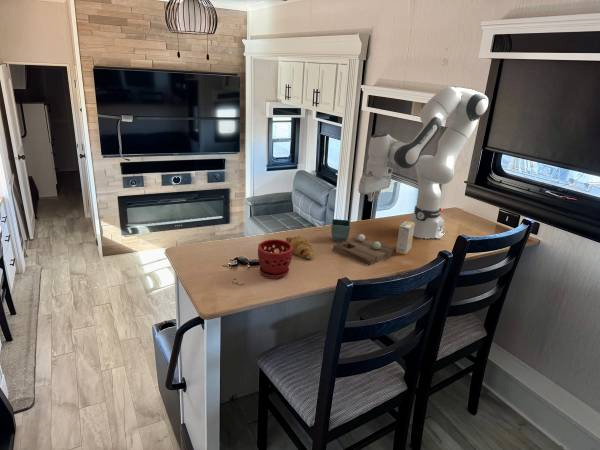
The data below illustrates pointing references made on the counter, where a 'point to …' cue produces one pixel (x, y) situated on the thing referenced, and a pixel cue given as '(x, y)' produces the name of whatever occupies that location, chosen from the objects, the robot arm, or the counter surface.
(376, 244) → the sage ball
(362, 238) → the ivory ball
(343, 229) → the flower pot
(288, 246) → the plant pot
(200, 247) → the counter surface
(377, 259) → the board
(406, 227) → the supplement box
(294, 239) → the croissant
